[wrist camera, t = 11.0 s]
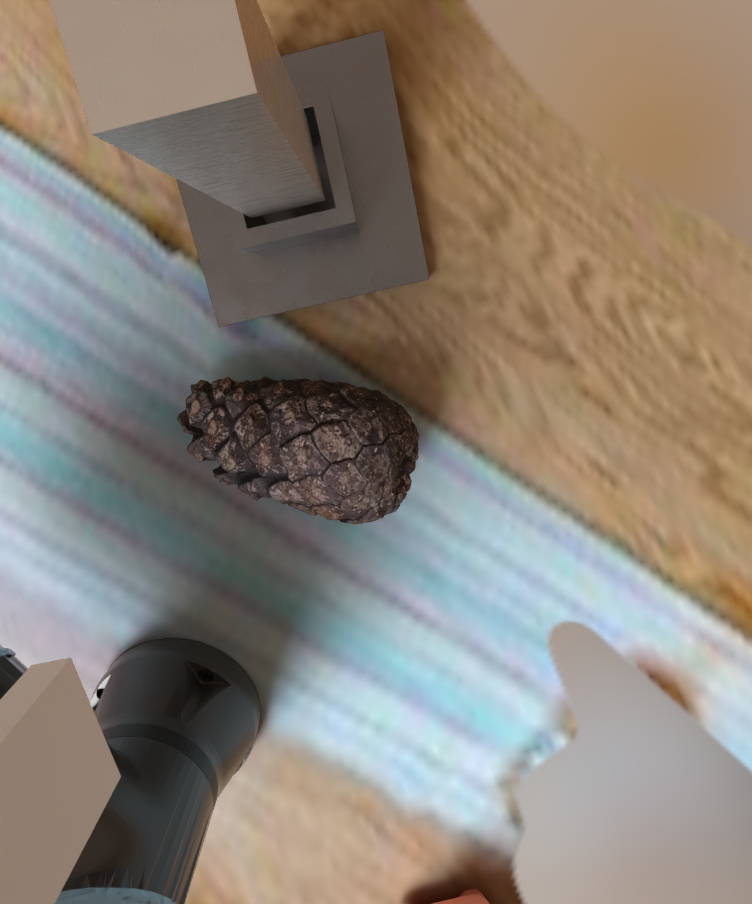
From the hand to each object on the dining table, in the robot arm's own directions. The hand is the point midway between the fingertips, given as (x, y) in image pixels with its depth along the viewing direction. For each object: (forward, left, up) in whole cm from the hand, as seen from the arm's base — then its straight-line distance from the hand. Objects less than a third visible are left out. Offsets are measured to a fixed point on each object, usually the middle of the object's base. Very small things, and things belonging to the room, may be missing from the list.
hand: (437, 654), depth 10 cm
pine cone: (-8, -4, -37) cm, 38 cm away
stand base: (-4, +14, -37) cm, 39 cm away
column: (-4, +14, -28) cm, 32 cm away
